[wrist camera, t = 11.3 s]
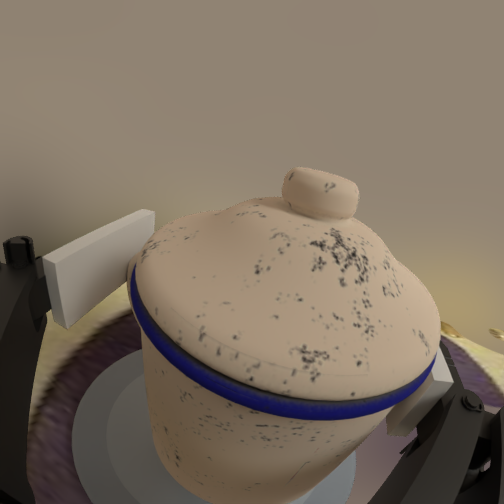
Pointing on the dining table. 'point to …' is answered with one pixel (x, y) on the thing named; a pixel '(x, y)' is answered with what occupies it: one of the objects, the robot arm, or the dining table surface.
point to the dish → (147, 447)
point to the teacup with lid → (275, 339)
